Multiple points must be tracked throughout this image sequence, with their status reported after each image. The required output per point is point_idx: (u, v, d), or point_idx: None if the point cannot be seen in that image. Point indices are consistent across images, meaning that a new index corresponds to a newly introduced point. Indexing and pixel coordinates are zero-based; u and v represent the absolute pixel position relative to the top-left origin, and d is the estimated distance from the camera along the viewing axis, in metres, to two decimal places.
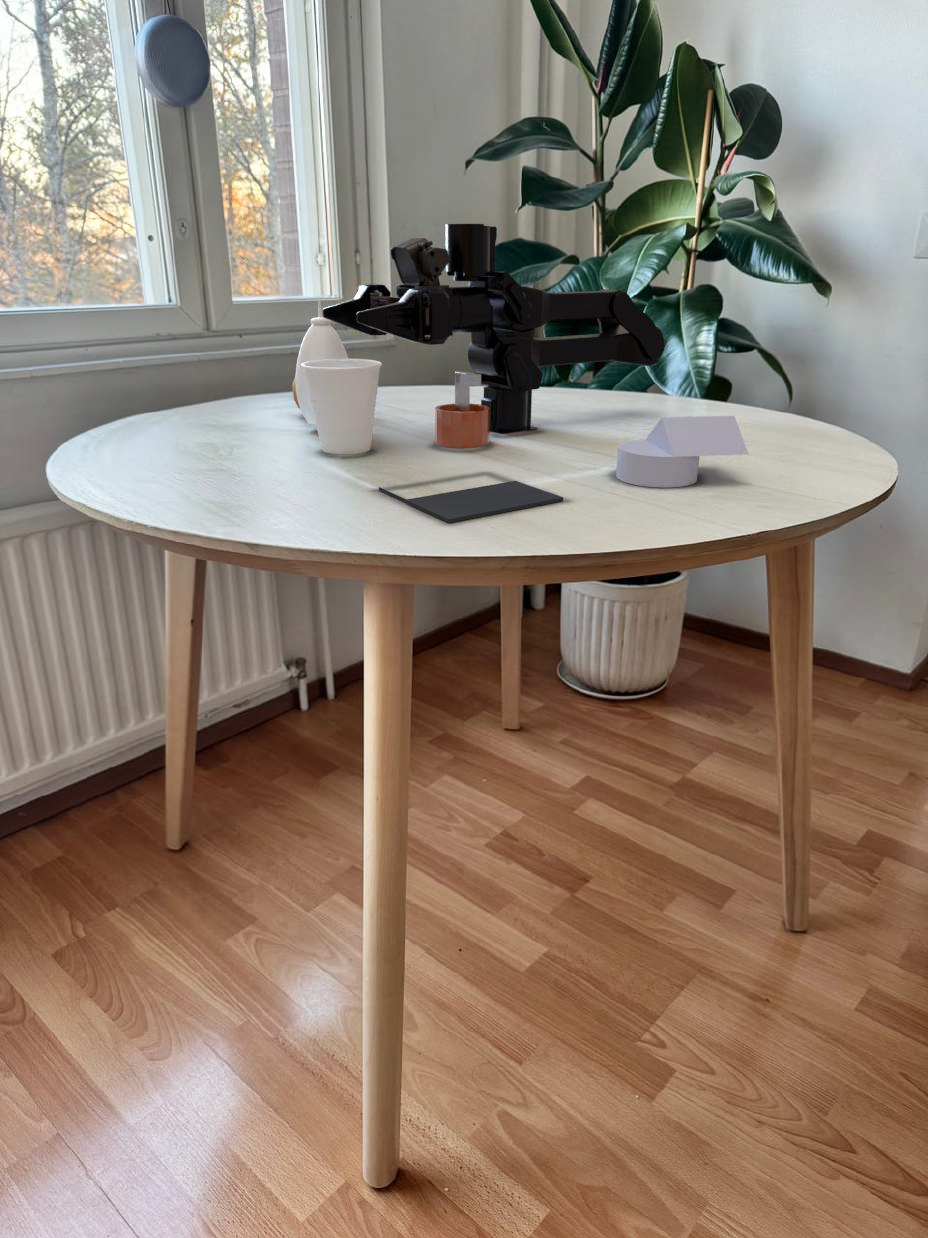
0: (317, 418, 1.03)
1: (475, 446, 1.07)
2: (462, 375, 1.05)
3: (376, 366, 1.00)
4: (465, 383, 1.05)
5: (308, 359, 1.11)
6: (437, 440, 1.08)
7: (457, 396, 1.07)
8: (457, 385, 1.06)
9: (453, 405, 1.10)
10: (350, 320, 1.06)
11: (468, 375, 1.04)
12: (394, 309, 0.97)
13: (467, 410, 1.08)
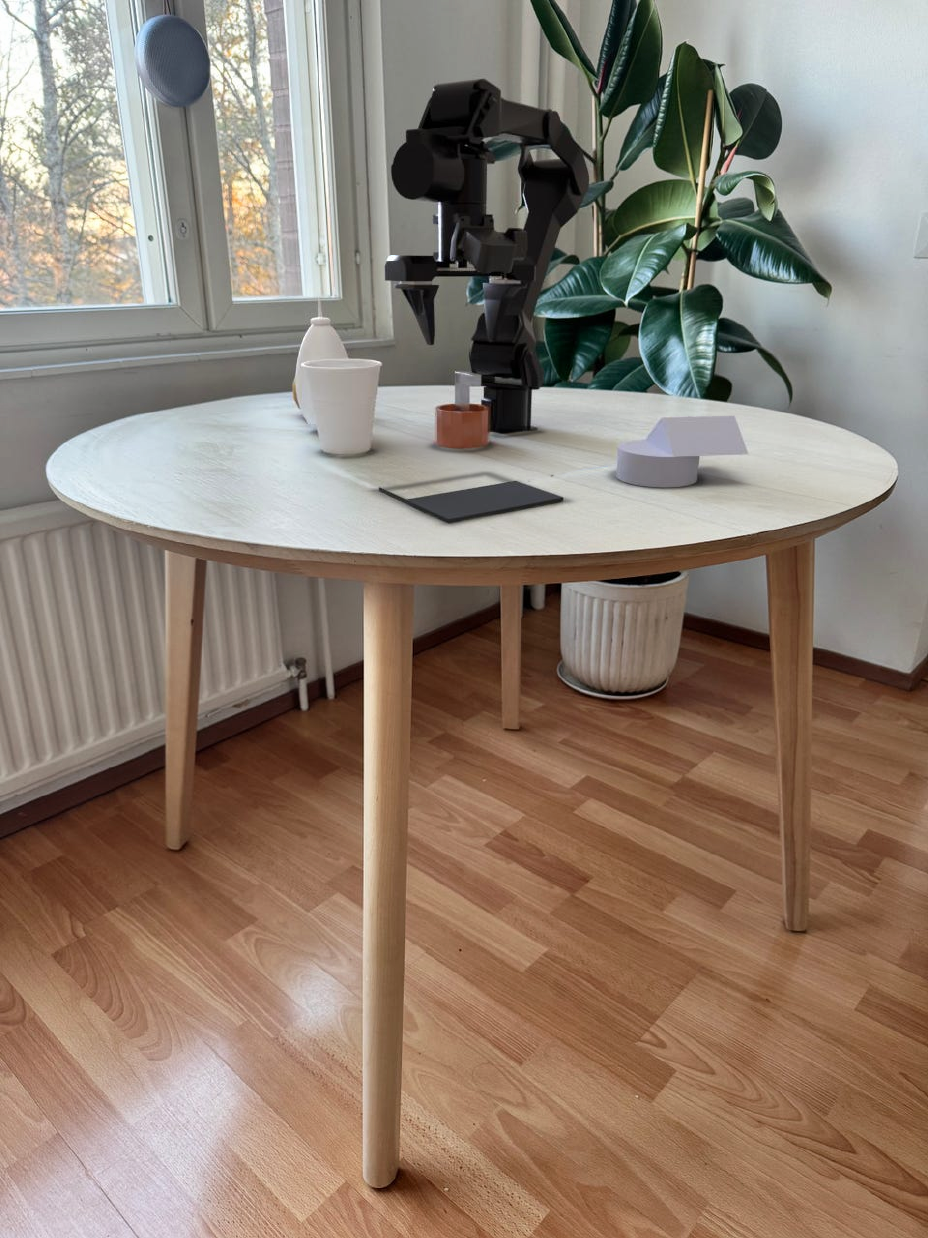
0: (317, 418, 1.03)
1: (475, 446, 1.07)
2: (462, 375, 1.05)
3: (376, 366, 1.00)
4: (465, 383, 1.05)
5: (308, 359, 1.11)
6: (437, 440, 1.08)
7: (457, 396, 1.07)
8: (457, 385, 1.06)
9: (453, 405, 1.10)
10: None
11: (468, 375, 1.04)
12: None
13: (467, 410, 1.08)
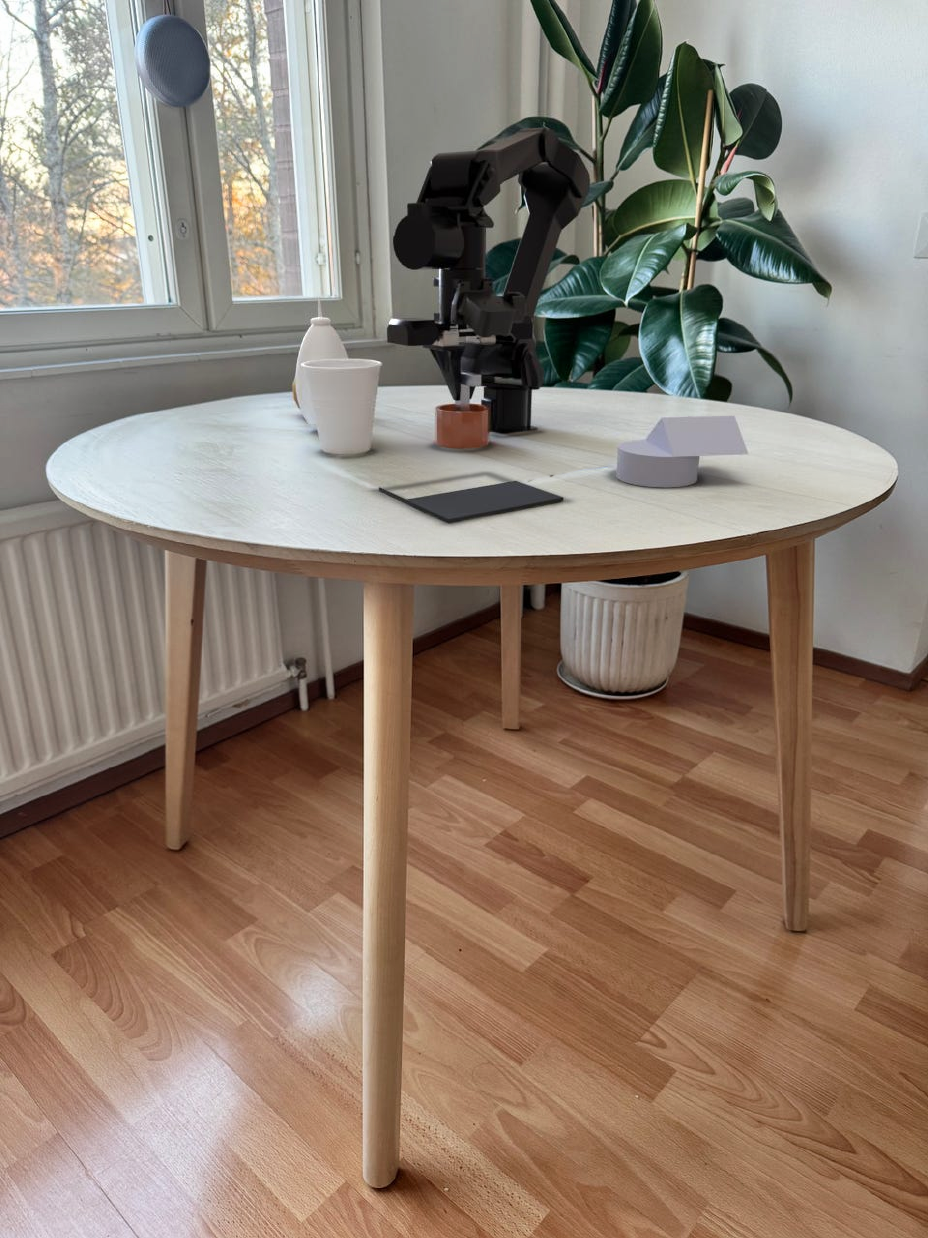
0: (317, 418, 1.03)
1: (475, 446, 1.07)
2: (462, 375, 1.05)
3: (376, 366, 1.00)
4: (465, 383, 1.05)
5: (308, 359, 1.11)
6: (437, 440, 1.08)
7: None
8: None
9: (453, 405, 1.10)
10: None
11: (468, 375, 1.04)
12: None
13: (467, 410, 1.08)
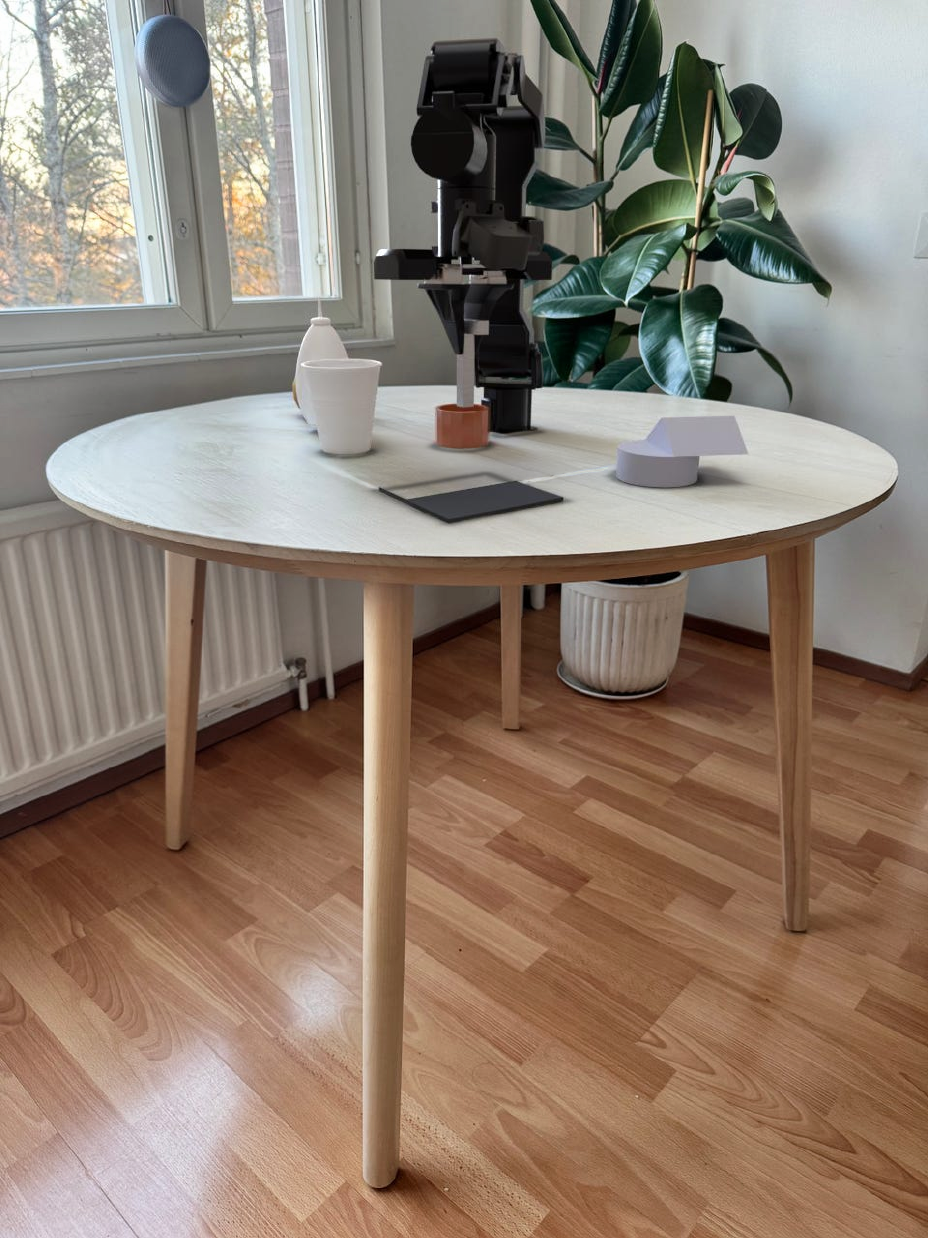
0: (317, 418, 1.03)
1: (475, 446, 1.07)
2: (466, 322, 0.86)
3: (376, 366, 1.00)
4: (469, 332, 0.86)
5: (308, 359, 1.11)
6: (437, 440, 1.08)
7: None
8: None
9: (453, 405, 1.10)
10: None
11: (473, 321, 0.85)
12: None
13: (471, 366, 0.89)
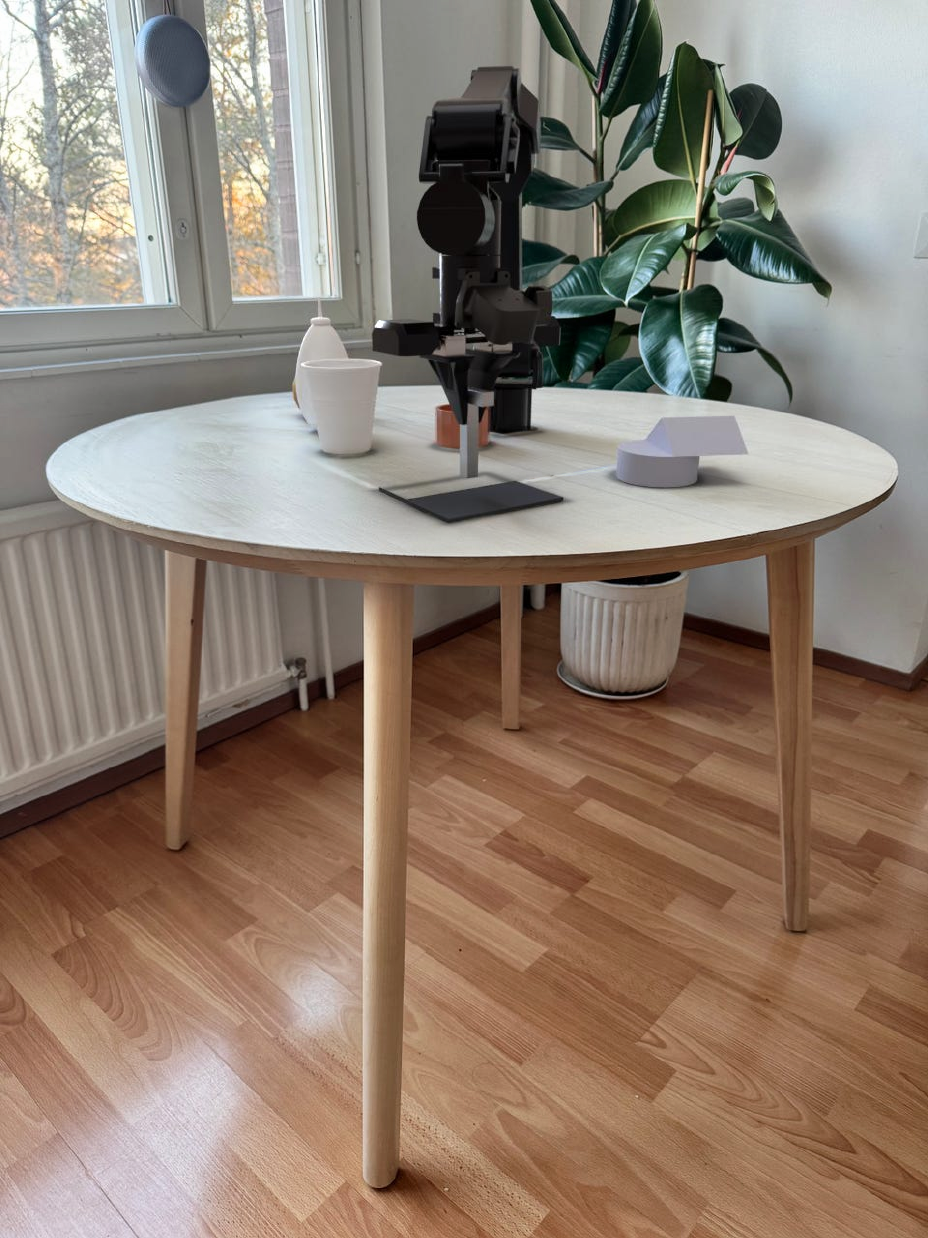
0: (317, 418, 1.03)
1: None
2: (469, 392, 0.82)
3: (376, 366, 1.00)
4: (473, 403, 0.82)
5: (308, 359, 1.11)
6: (437, 440, 1.08)
7: None
8: None
9: None
10: None
11: (477, 392, 0.81)
12: None
13: (475, 436, 0.84)
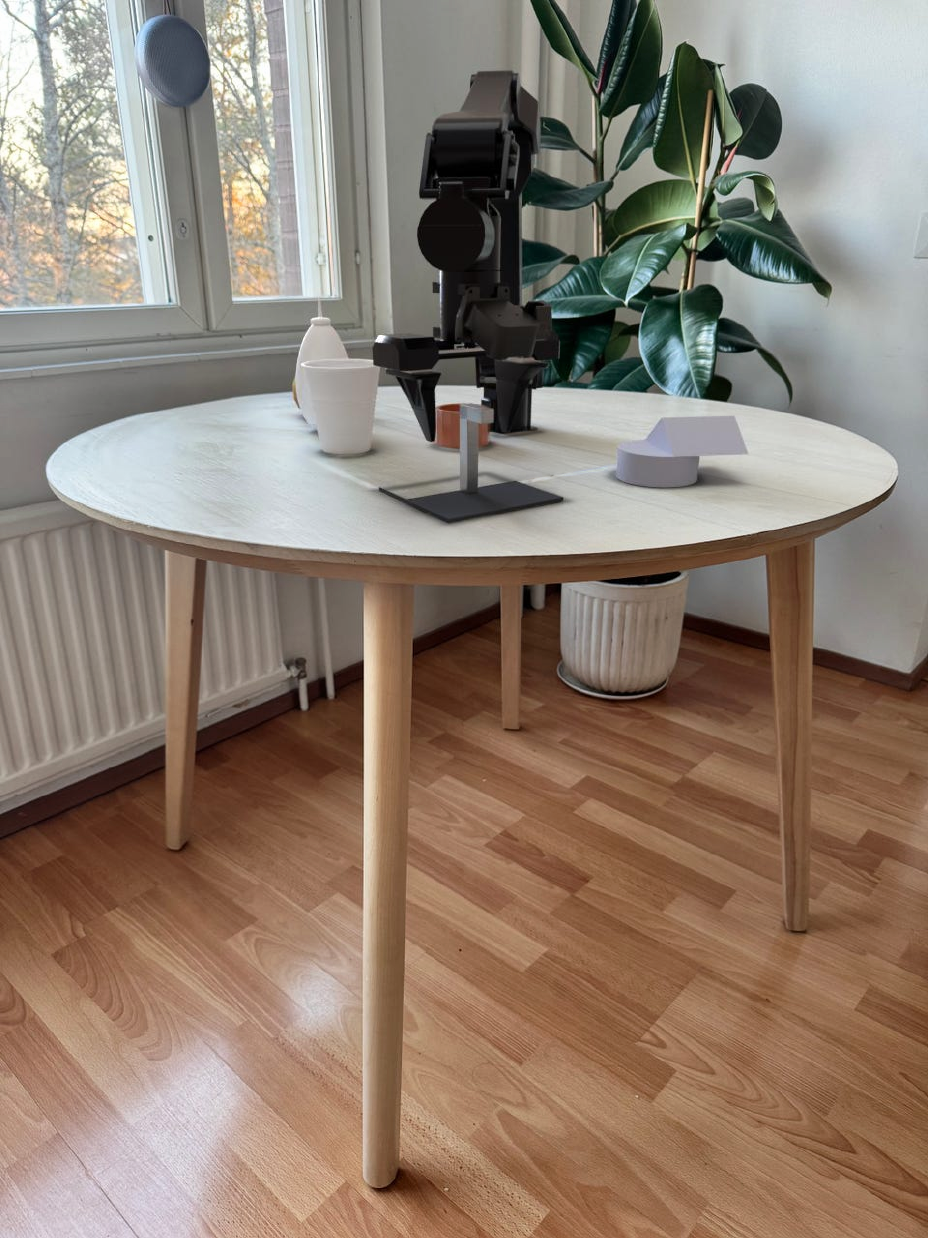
0: (317, 418, 1.03)
1: None
2: (469, 409, 0.82)
3: (376, 366, 1.00)
4: (473, 419, 0.82)
5: (308, 359, 1.11)
6: (437, 440, 1.08)
7: (463, 435, 0.84)
8: (463, 421, 0.84)
9: (453, 405, 1.10)
10: None
11: (477, 410, 0.81)
12: None
13: (475, 452, 0.85)
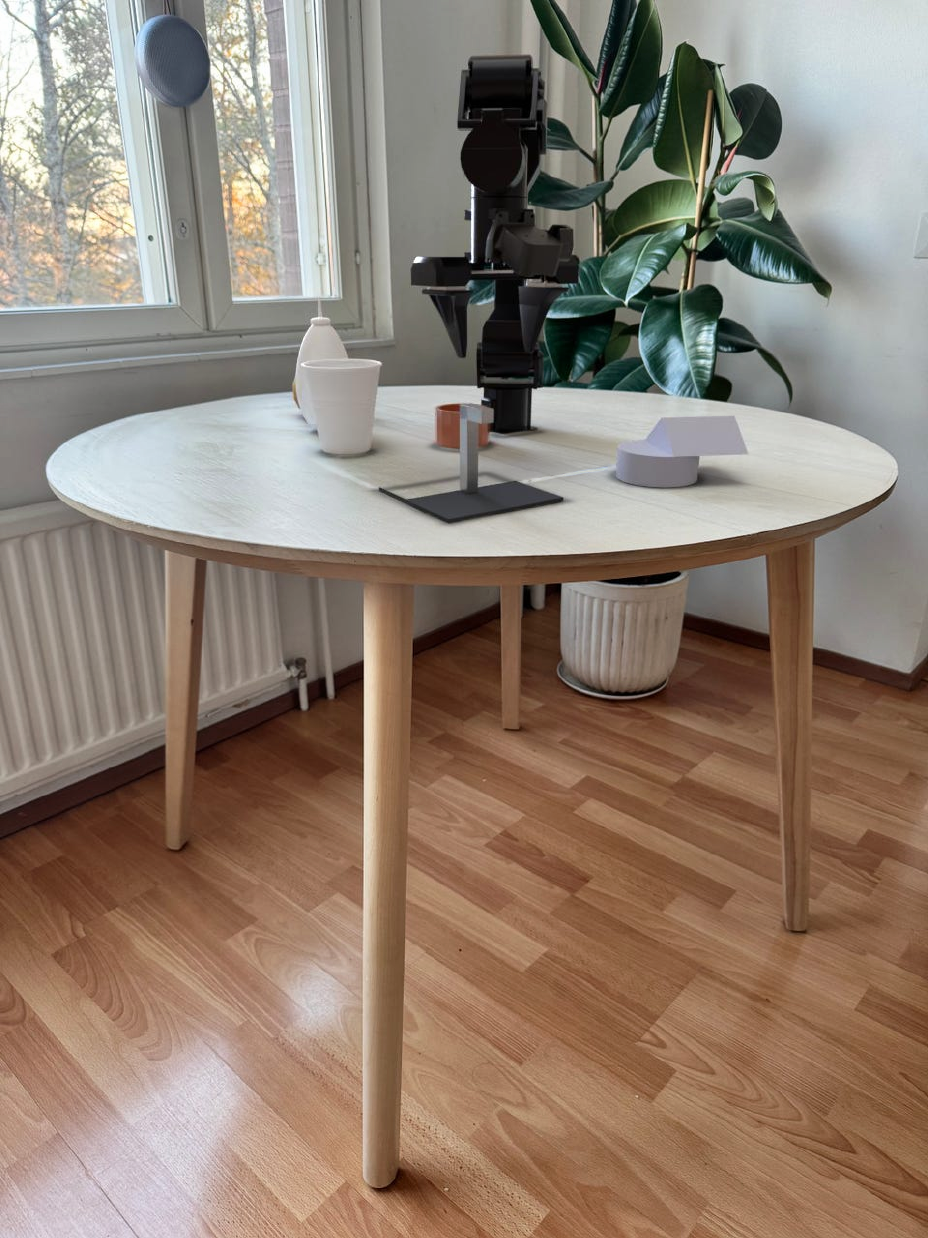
0: (317, 418, 1.03)
1: None
2: (469, 409, 0.82)
3: (376, 366, 1.00)
4: (473, 419, 0.82)
5: (308, 359, 1.11)
6: (437, 440, 1.08)
7: (463, 435, 0.84)
8: (463, 421, 0.84)
9: (453, 405, 1.10)
10: None
11: (477, 410, 0.81)
12: None
13: (475, 452, 0.85)
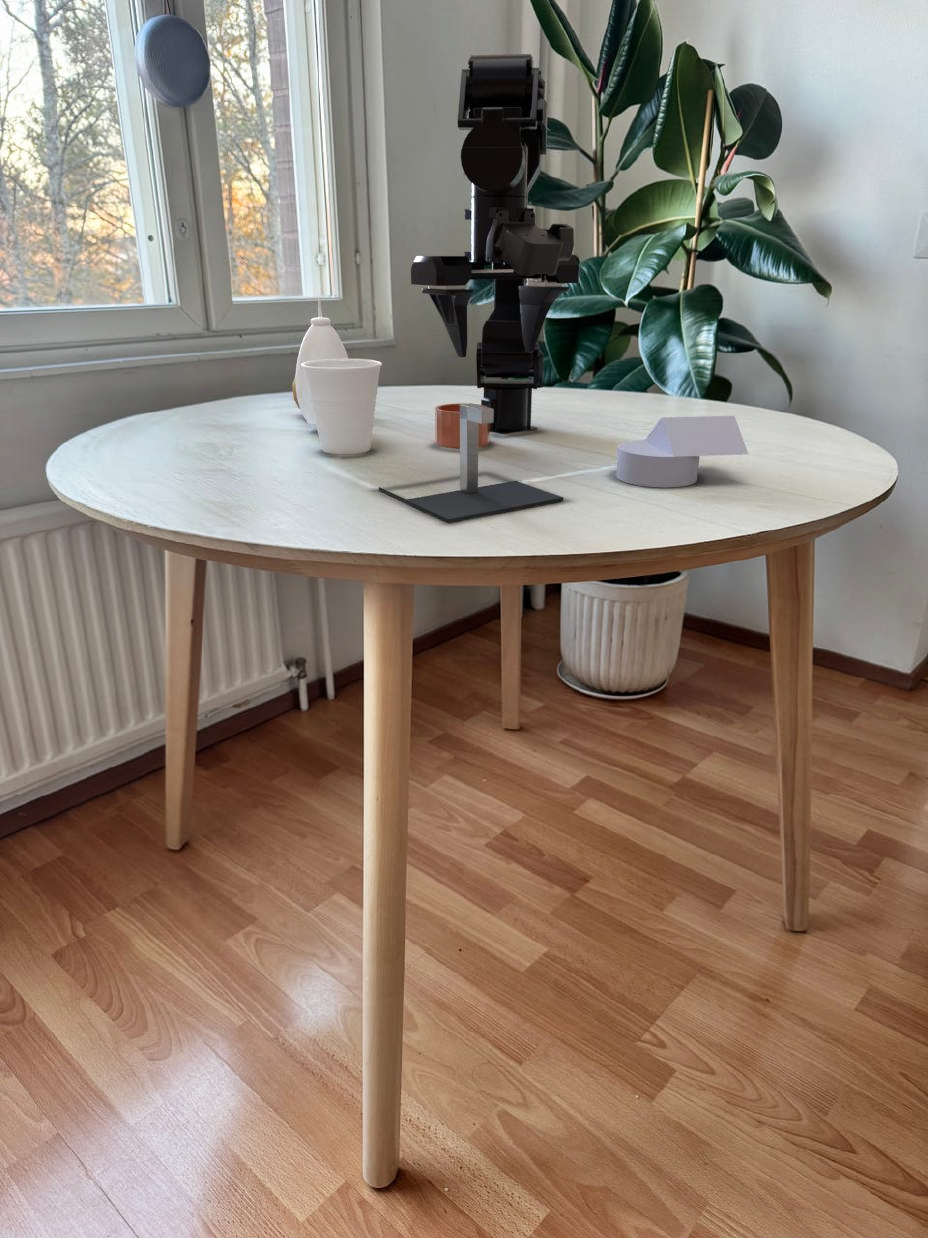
0: (317, 418, 1.03)
1: None
2: (469, 409, 0.82)
3: (376, 366, 1.00)
4: (473, 419, 0.82)
5: (308, 359, 1.11)
6: (437, 440, 1.08)
7: (463, 435, 0.84)
8: (463, 421, 0.84)
9: (453, 405, 1.10)
10: None
11: (477, 410, 0.81)
12: None
13: (475, 452, 0.85)
